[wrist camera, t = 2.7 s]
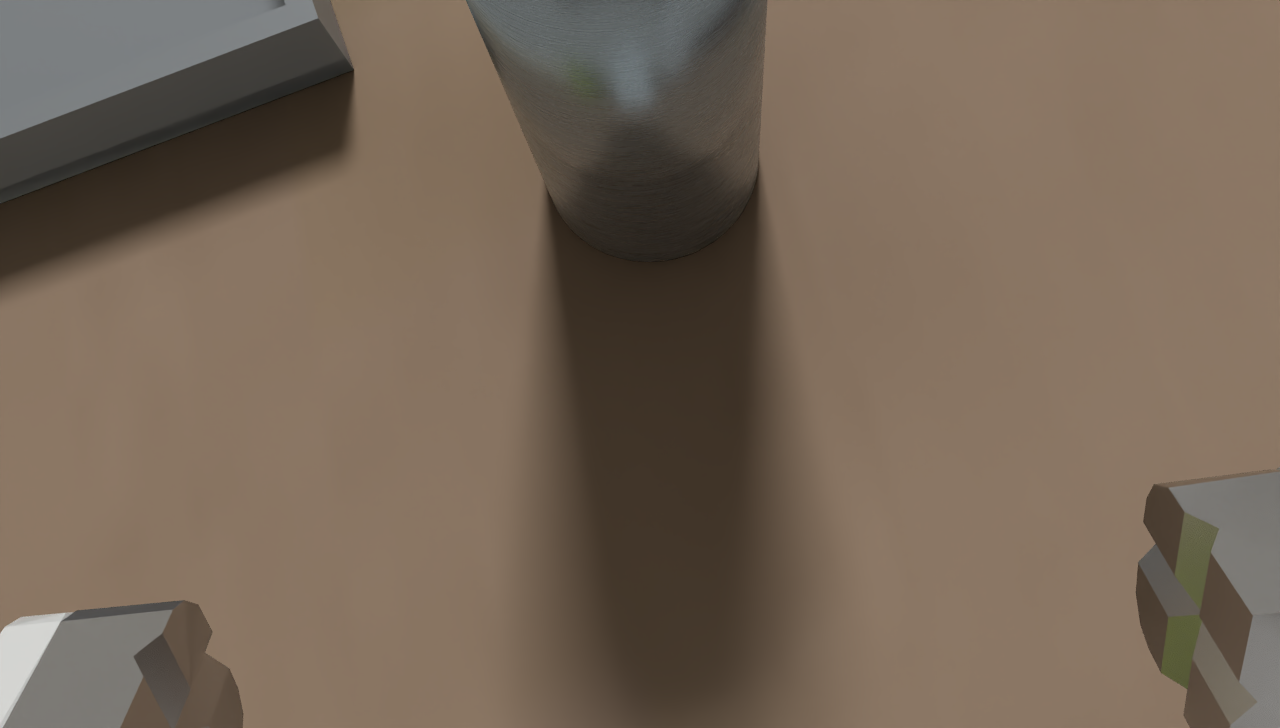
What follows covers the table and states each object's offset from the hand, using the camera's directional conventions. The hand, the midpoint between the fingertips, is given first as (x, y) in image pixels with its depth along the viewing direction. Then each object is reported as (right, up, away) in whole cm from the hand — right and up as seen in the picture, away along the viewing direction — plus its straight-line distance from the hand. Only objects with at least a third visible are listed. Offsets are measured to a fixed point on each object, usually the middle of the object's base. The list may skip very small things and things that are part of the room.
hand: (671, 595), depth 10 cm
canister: (0, +7, +17) cm, 19 cm away
